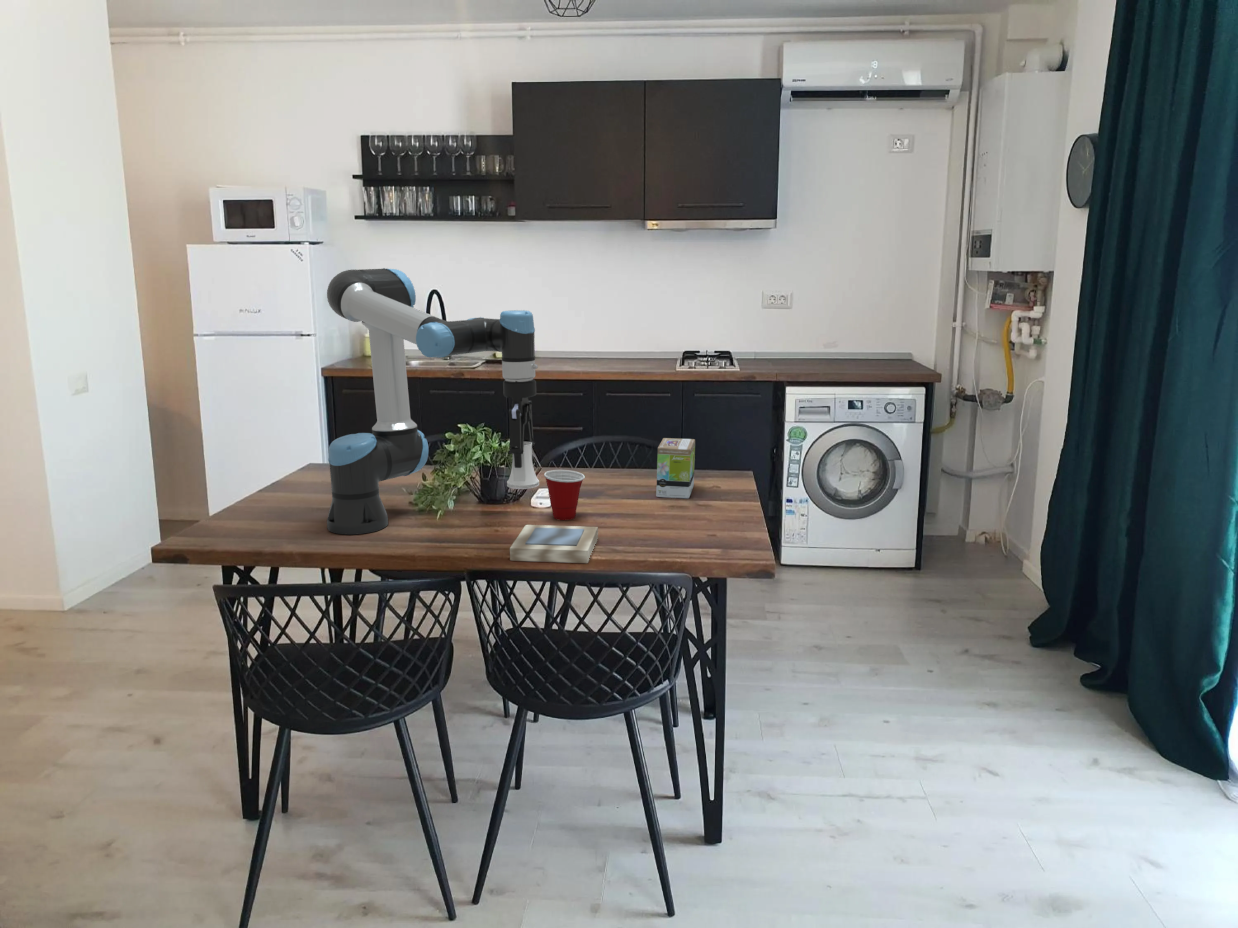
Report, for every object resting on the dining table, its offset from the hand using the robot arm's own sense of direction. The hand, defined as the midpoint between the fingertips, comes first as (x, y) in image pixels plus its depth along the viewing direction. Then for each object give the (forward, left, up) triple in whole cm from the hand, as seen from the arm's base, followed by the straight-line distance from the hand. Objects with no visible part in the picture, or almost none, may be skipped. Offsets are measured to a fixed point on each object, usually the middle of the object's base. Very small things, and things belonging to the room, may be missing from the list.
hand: (523, 476), depth 212 cm
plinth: (+7, 0, -18) cm, 19 cm away
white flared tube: (0, 0, -2) cm, 2 cm away
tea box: (+33, +55, -18) cm, 67 cm away
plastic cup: (+5, +26, -18) cm, 32 cm away
